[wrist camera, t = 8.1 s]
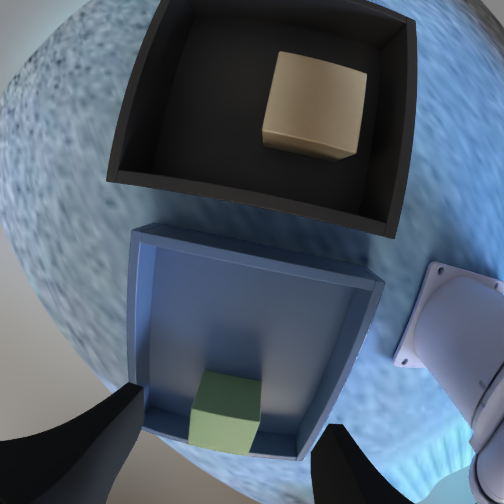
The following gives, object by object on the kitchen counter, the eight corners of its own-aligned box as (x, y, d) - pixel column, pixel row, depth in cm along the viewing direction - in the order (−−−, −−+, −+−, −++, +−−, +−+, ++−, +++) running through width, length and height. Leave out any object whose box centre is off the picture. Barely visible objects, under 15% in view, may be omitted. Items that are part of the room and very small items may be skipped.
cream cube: (345, 98, 13) (367, 73, 9) (334, 163, 14) (356, 154, 10) (276, 82, 13) (279, 50, 9) (262, 146, 14) (261, 130, 10)
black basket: (387, 51, 13) (415, 20, 8) (362, 226, 15) (394, 239, 11) (191, 14, 13) (172, -23, 8) (144, 182, 15) (105, 181, 11)
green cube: (262, 380, 17) (260, 422, 13) (250, 417, 18) (247, 456, 14) (204, 369, 17) (190, 408, 13) (199, 407, 18) (187, 444, 14)
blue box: (367, 266, 16) (386, 282, 13) (299, 435, 19) (302, 461, 16) (153, 222, 16) (131, 229, 13) (145, 403, 19) (133, 427, 16)
